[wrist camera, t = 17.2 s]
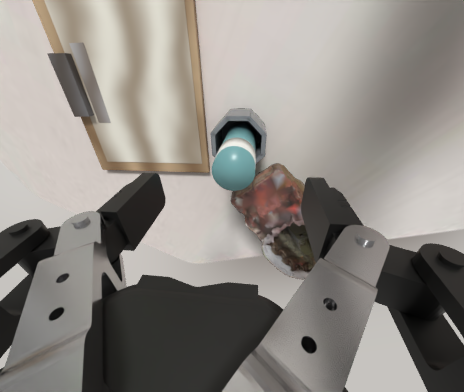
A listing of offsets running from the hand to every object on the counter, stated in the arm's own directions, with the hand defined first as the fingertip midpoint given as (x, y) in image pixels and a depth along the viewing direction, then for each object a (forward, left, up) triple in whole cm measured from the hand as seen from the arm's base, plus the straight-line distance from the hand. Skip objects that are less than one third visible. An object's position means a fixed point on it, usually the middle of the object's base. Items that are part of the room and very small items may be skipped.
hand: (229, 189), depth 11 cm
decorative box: (-6, +14, -19) cm, 25 cm away
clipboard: (+15, -4, -19) cm, 24 cm away
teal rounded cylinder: (0, +2, -18) cm, 18 cm away
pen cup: (+1, +2, -19) cm, 19 cm away
